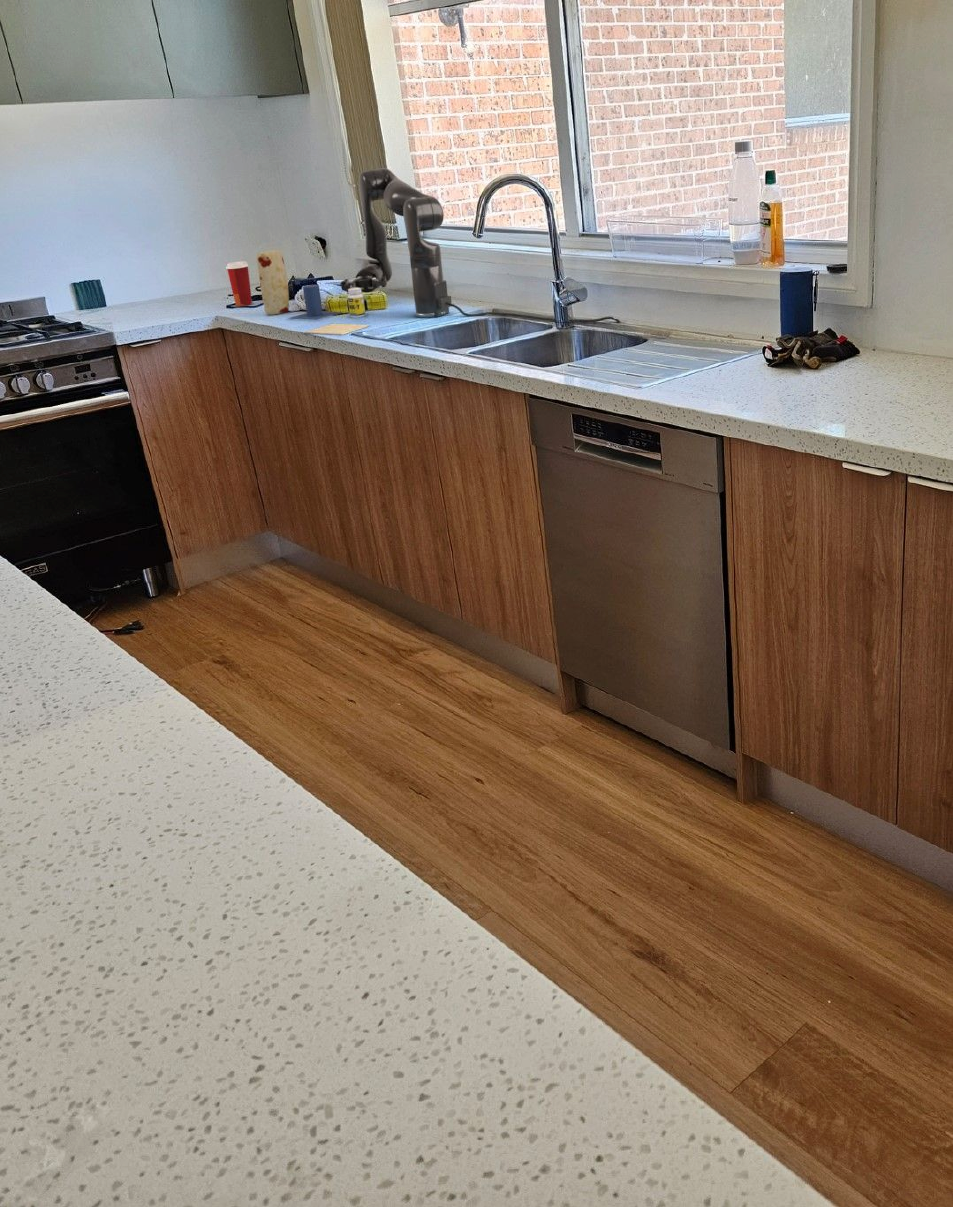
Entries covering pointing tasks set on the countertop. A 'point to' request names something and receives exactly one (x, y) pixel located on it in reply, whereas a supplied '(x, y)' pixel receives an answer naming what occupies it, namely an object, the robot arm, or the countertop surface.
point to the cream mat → (337, 329)
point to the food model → (273, 282)
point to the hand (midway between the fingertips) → (360, 287)
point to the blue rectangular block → (312, 300)
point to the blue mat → (325, 314)
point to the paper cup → (240, 282)
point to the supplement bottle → (356, 302)
